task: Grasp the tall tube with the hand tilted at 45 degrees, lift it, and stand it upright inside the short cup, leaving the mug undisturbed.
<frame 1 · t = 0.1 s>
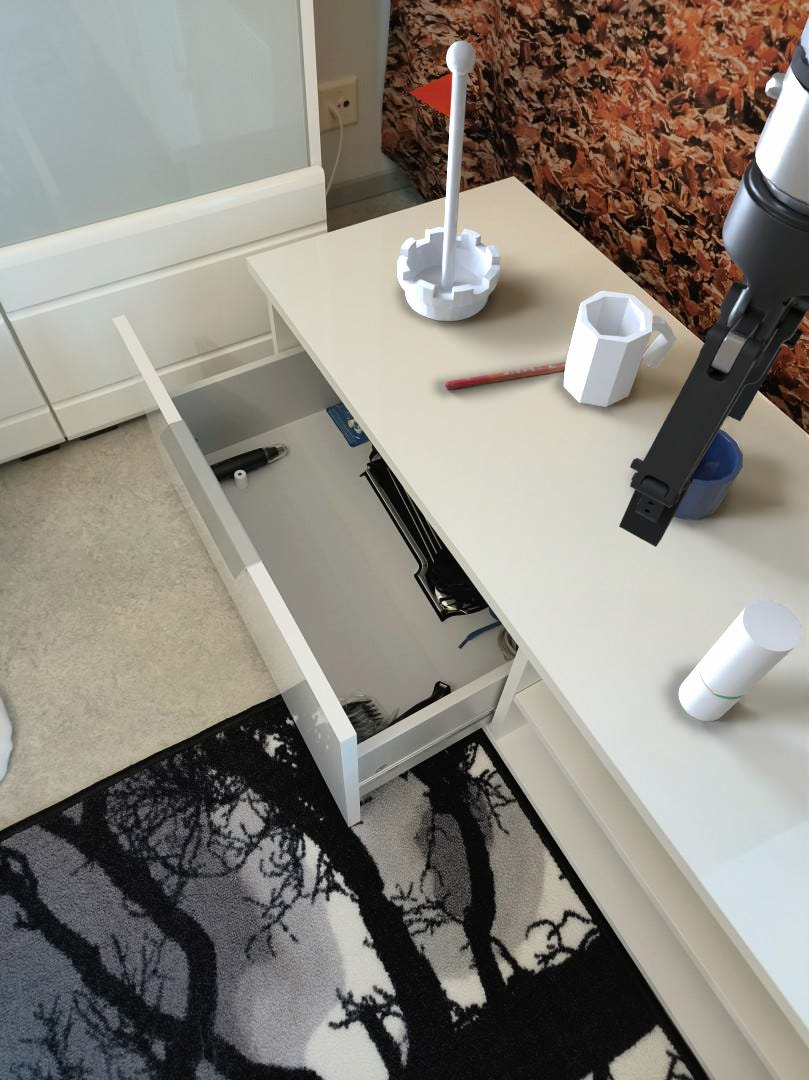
hand: (684, 468, 52), 24 cm above the tv stand, tool pointing down, fingers open, 13 cm apart
pencil: (521, 377, 90), on the tv stand
flag stand: (446, 294, 98), on the tv stand
mug: (610, 380, 90), on the tv stand
cup: (681, 487, 80), on the tv stand
tube: (702, 699, 68), on the tv stand
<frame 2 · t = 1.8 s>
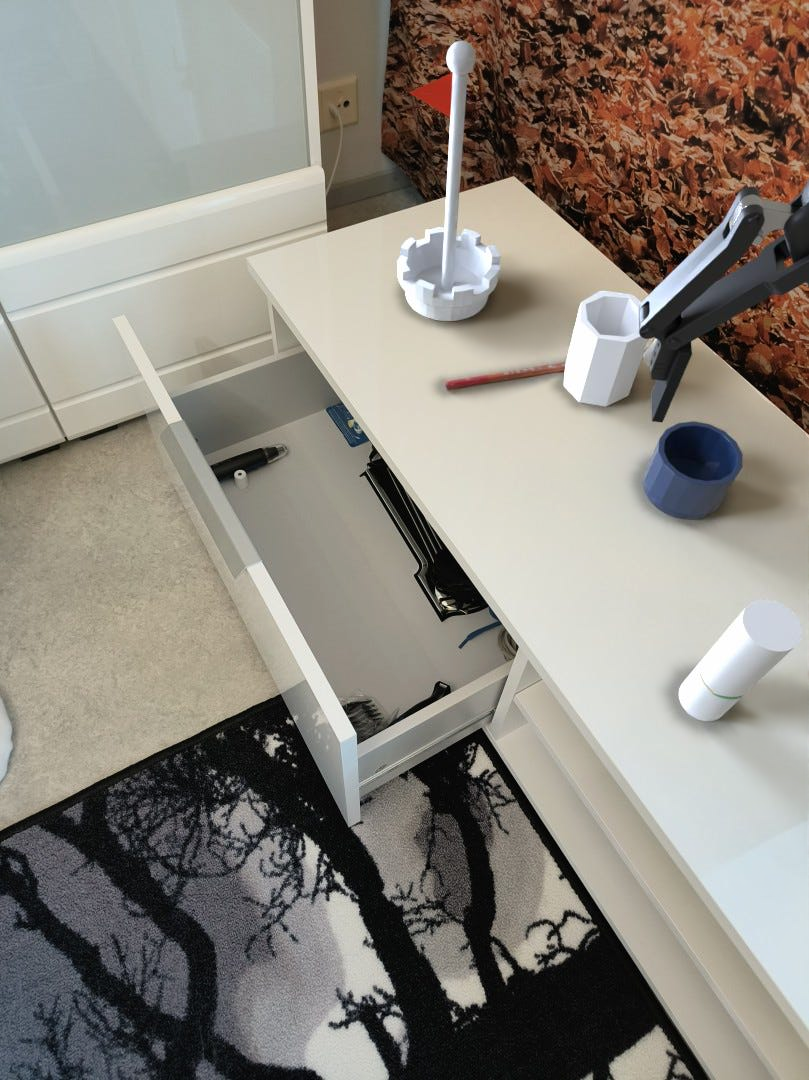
hand: (752, 419, 53), 24 cm above the tv stand, tool pointing down, fingers open, 13 cm apart
pencil: (520, 377, 90), on the tv stand, touching mug
mug: (610, 379, 90), on the tv stand, touching pencil
everything else where it was.
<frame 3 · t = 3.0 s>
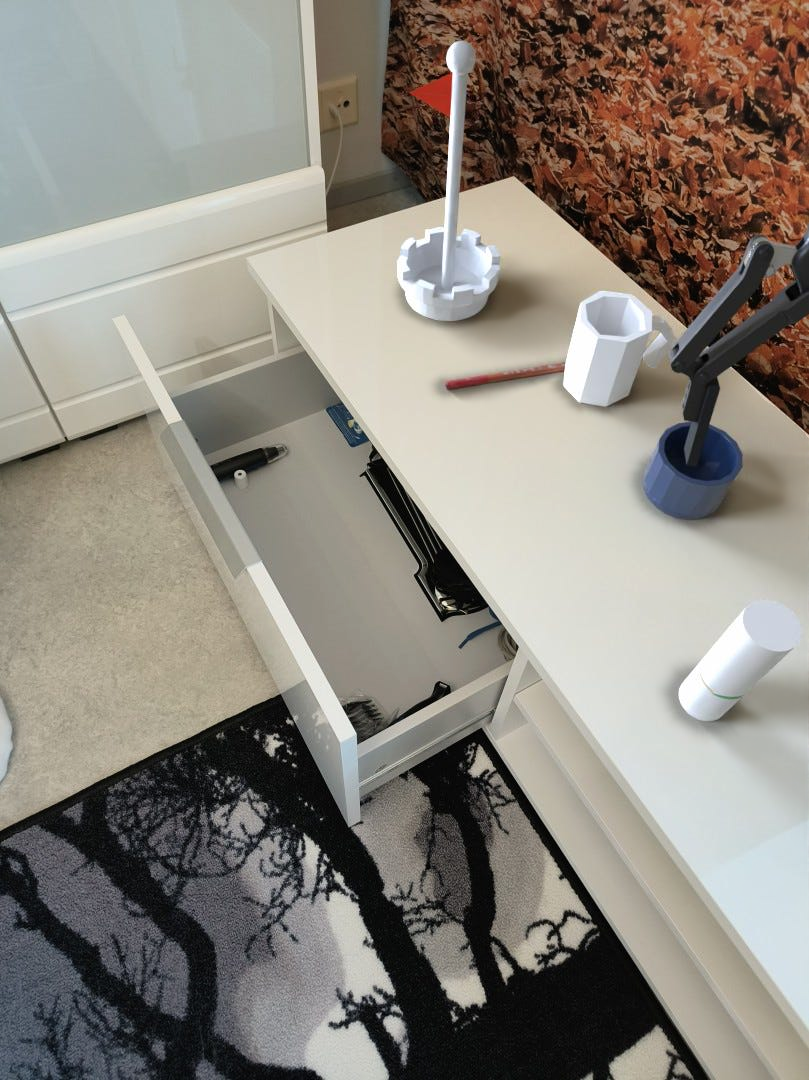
hand: (782, 469, 57), 20 cm above the tv stand, tool tilted 20°, fingers open, 13 cm apart
pencil: (520, 377, 90), on the tv stand
mug: (610, 379, 90), on the tv stand
everything else where it was.
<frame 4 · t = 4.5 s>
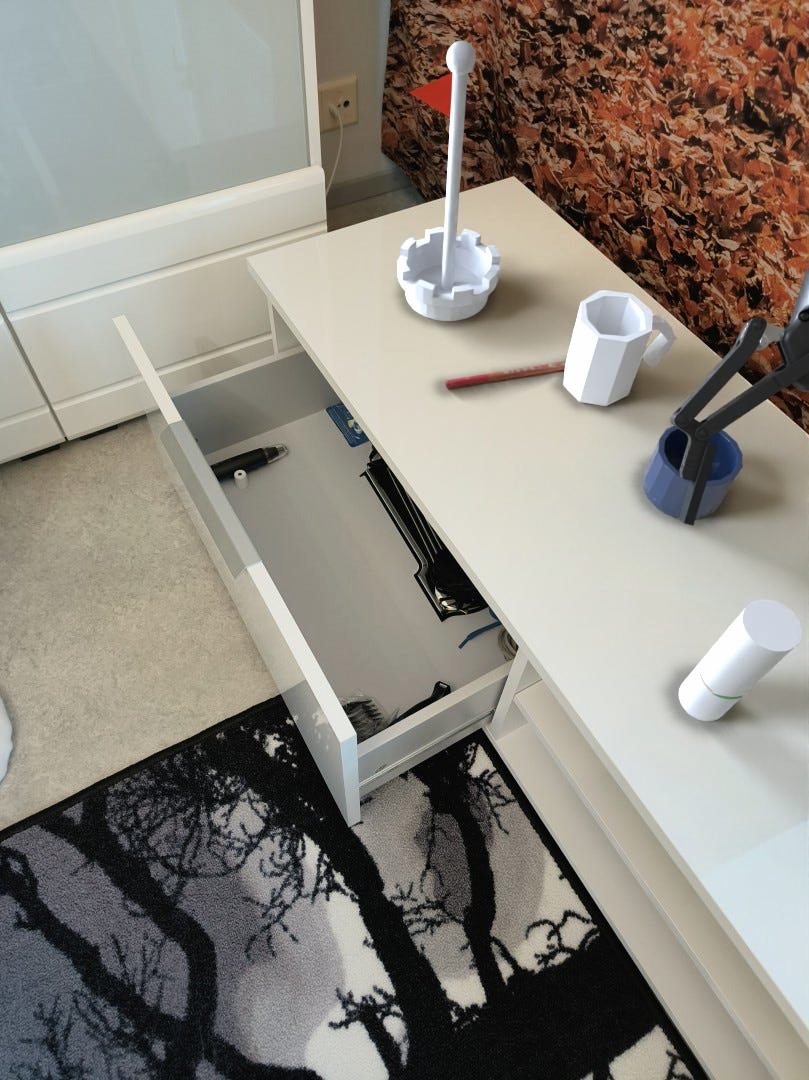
hand: (771, 542, 59), 14 cm above the tv stand, tool tilted 45°, fingers open, 13 cm apart
pencil: (521, 376, 90), on the tv stand, touching mug
mug: (610, 379, 90), on the tv stand, touching pencil
everything else where it was.
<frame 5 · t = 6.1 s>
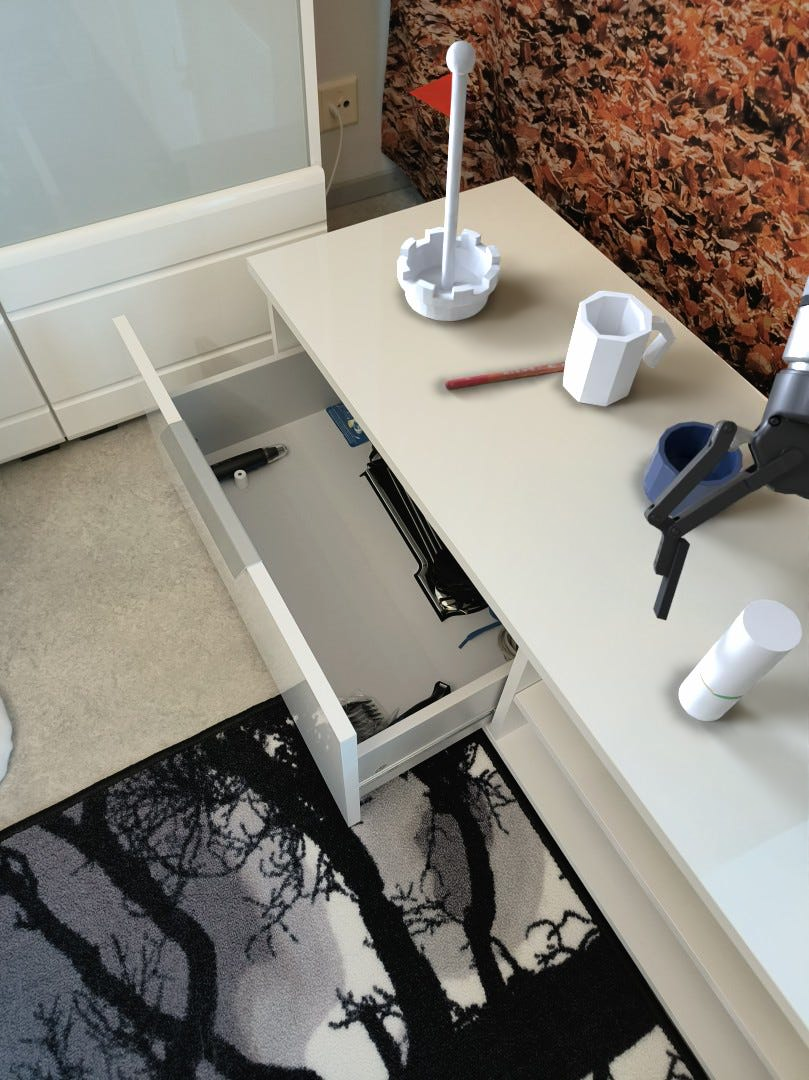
hand: (743, 637, 60), 10 cm above the tv stand, tool tilted 45°, fingers open, 13 cm apart
pencil: (520, 377, 90), on the tv stand
mug: (609, 379, 90), on the tv stand
everything else where it was.
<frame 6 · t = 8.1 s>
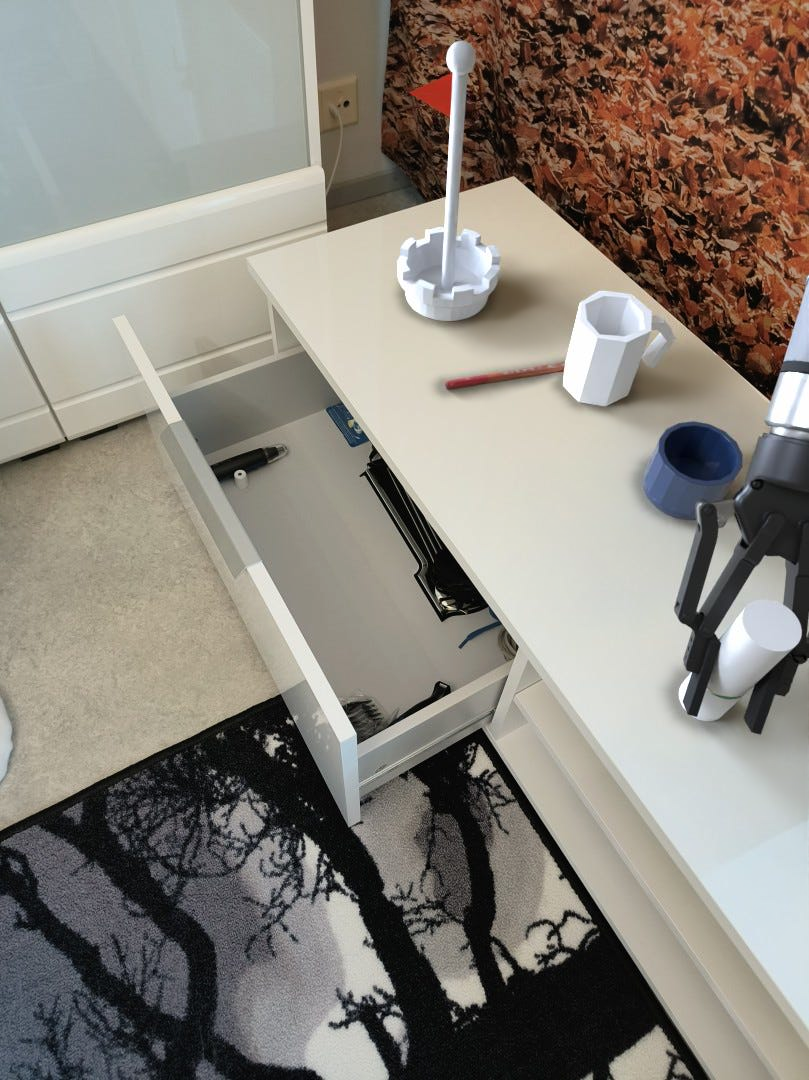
hand: (720, 717, 61), 5 cm above the tv stand, tool tilted 45°, fingers closed on tube, 4 cm apart
tube: (702, 699, 68), on the tv stand, touching gripper
everything else where it was.
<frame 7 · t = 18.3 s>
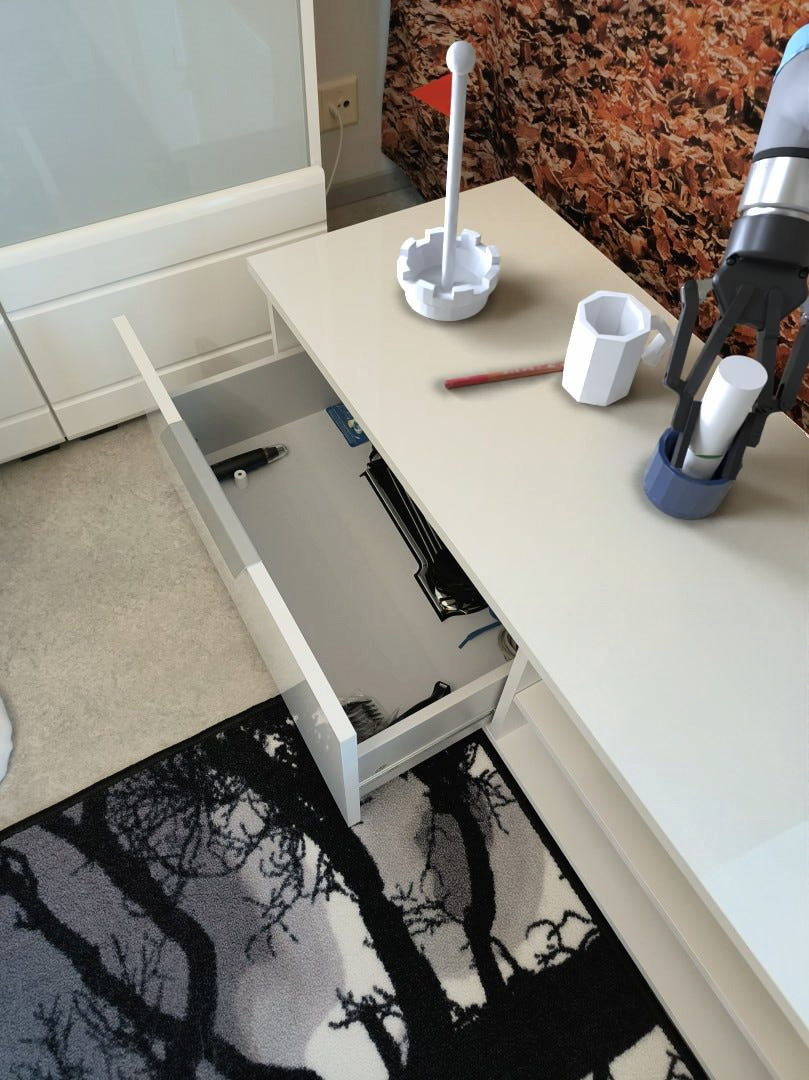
hand: (702, 472, 72), 7 cm above the tv stand, tool tilted 45°, fingers closed on tube, 4 cm apart
pencil: (520, 376, 90), on the tv stand, touching mug
mug: (609, 379, 90), on the tv stand, touching pencil
tube: (687, 476, 79), point 2 cm above the tv stand, touching gripper
everything else where it was.
when the fingers open (8 cm above the tv stand, at t = 21.1 s): tube drops 2 cm, resting on cup.
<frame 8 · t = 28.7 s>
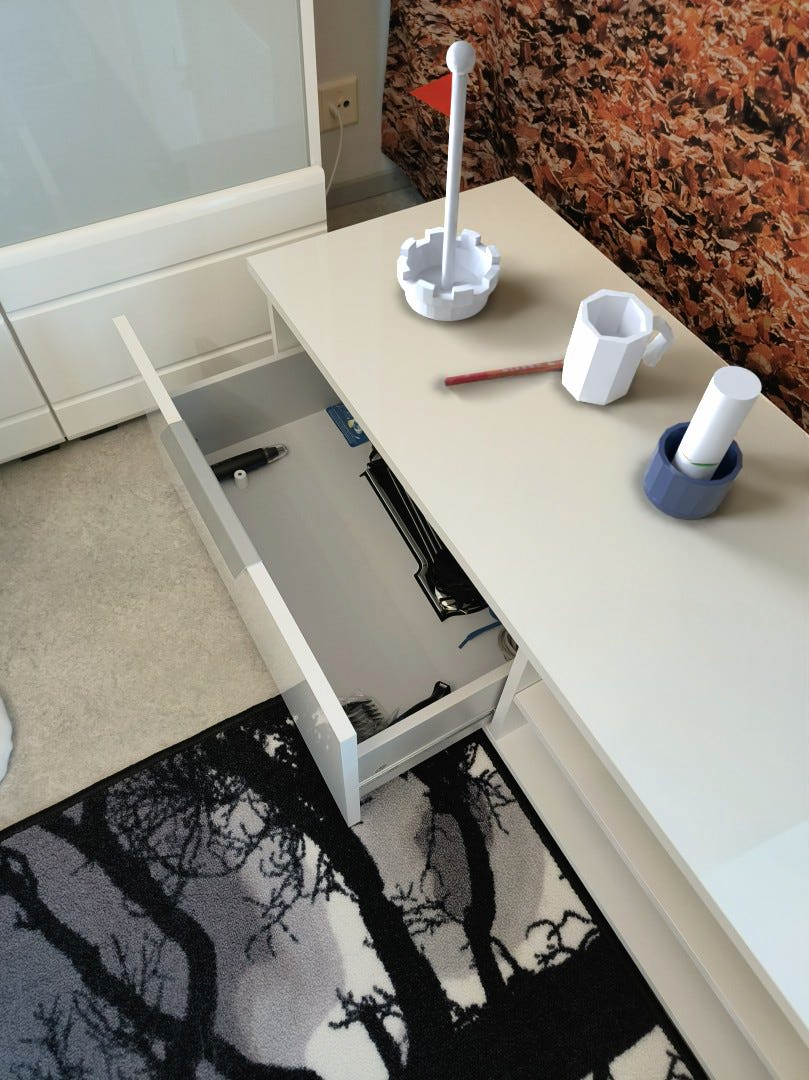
mug: (608, 377, 90), on the tv stand, touching pencil
tube: (683, 484, 80), point 1 cm above the tv stand, touching cup
everything else where it was.
at the end: tube 0.0 cm off-centre in the cup, point 0.6 cm above the cup's base; tube tilted 0°; mug moved 0.4 cm from its start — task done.
